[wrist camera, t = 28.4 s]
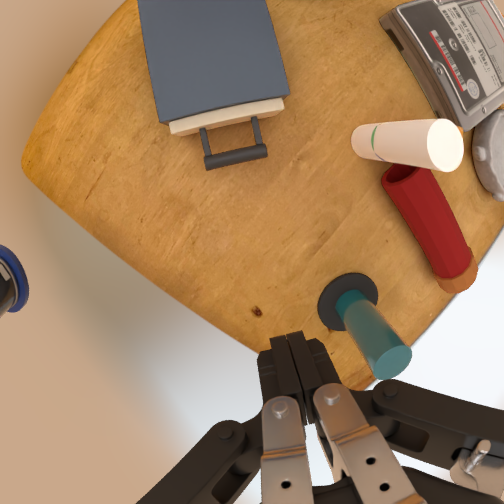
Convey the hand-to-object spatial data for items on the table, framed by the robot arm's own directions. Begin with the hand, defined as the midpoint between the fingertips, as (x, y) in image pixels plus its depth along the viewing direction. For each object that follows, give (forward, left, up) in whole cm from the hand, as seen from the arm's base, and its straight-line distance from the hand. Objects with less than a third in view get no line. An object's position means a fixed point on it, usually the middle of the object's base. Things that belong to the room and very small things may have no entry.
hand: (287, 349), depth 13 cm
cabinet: (0, +20, -23) cm, 30 cm away
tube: (+16, +7, -23) cm, 29 cm away
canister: (+11, -14, -22) cm, 29 cm away
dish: (+41, +4, -23) cm, 47 cm away
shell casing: (+24, -5, -23) cm, 34 cm away
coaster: (+11, -14, -23) cm, 29 cm away
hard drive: (+38, +21, -23) cm, 49 cm away
